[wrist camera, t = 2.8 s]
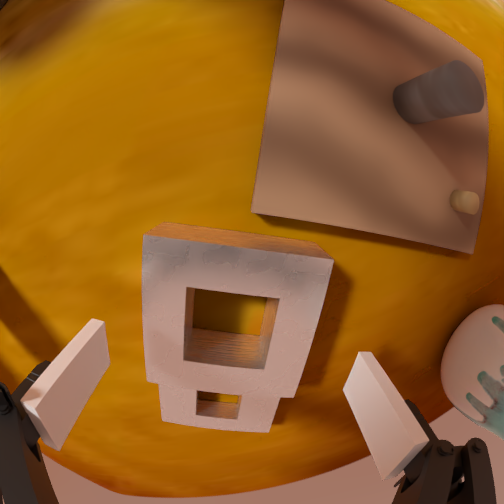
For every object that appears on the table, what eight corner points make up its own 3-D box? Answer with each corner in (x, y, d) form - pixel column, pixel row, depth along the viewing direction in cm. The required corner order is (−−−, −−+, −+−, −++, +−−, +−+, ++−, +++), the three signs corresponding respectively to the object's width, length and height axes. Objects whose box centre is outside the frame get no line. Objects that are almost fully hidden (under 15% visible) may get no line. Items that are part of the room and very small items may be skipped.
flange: (163, 221, 17) (143, 234, 13) (314, 242, 18) (334, 259, 14) (163, 405, 21) (155, 436, 17) (269, 417, 22) (273, 449, 18)
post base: (287, -19, 12) (305, -79, 5) (472, 63, 14) (523, 48, 6) (250, 209, 17) (259, 233, 10) (462, 249, 19) (521, 277, 11)
